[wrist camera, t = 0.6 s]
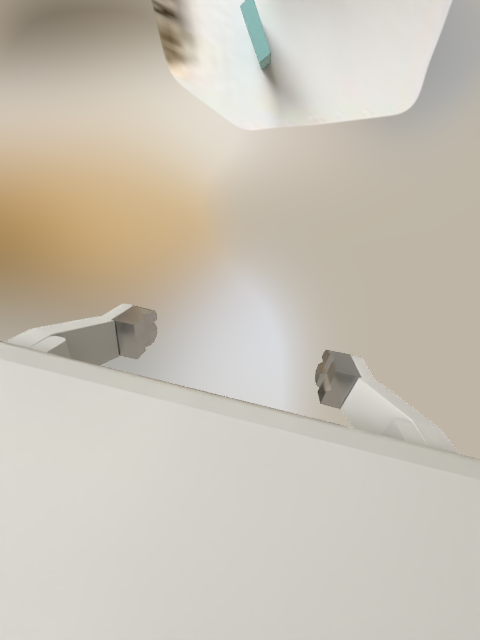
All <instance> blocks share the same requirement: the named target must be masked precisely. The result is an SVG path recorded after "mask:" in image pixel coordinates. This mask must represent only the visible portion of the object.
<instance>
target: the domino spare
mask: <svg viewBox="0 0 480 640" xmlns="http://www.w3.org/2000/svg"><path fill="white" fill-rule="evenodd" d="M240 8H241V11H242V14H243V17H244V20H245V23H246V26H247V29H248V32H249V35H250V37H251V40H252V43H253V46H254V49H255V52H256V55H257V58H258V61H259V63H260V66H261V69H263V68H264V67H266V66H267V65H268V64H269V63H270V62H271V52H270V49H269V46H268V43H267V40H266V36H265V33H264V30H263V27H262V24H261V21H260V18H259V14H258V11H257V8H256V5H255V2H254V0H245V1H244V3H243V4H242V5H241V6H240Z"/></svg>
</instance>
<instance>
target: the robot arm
mask: <svg viewBox="0 0 480 640" xmlns="http://www.w3.org/2000/svg"><path fill="white" fill-rule="evenodd" d="M156 319H157V314H156V312H155V311H154V310H149V309H146V308H142V307H138V306H134V305H129V304H121V305H120V306H118V307H116V308H115V309H113V310H111V311H110V312H108V313H106V314H105V315H103V316H102V317H92V318H87V319H81V320H76V321H71V322H65V323H60V324H55V325H49V326H44V327H39V328H33V329H30V330H28V331H26V332H24V333H22V334H19V335H17V336H15V337H13V338H11V339H9V340H7V341H5V342H2V341H0V640H480V459H477V458H473V457H469V456H465V455H460V454H459V453H458V452H457V451H456V449H455V448H454V446H453V445H452V444H451V442H450V441H449V440H448V438H447V437H446V436H445V434H444V433H443V432H442V430H441V429H440V428H439V427H438V426H437V425H435V424H434V423H433V422H431V421H430V420H429V419H427V418H426V417H425V416H424V415H422V414H421V413H419V412H418V411H417V410H416V409H414V408H413V407H412V406H410V405H409V404H407V403H406V402H405V401H404V400H402V399H401V398H400V397H398V396H397V395H396V394H394V393H393V392H392V391H390V390H389V389H388V388H386V387H385V386H384V385H382V384H381V383H380V382H377V381H375V379H374V378H373V376H372V374H371V372H370V371H369V369H368V367H367V365H366V364H365V362H364V360H363V358H361V357H360V356H355V355H349V354H345V353H340V352H335V351H330V350H326V351H325V352H324V354H323V356H322V359H323V362H322V363H320V364H318V367H317V369H316V374H315V381H316V385H317V386H318V387H319V390H318V395H319V400H320V403H321V404H324V405H328V406H331V407H335V408H339V409H340V410H341V412H342V413H343V414H344V416H345V417H346V418H347V419H348V421H349V422H350V423H351V424H352V426H353V427H354V428H351V427H347V426H343V425H339V424H335V423H331V422H326V421H323V420H319V419H315V418H310V417H306V416H302V415H298V414H294V413H290V412H286V411H282V410H278V409H274V408H270V407H266V406H262V405H258V404H254V403H250V402H246V401H242V400H238V399H233V398H229V397H225V396H221V395H217V394H213V393H209V392H205V391H201V390H197V389H193V388H189V387H184V386H181V385H177V384H172V383H169V382H164V381H161V380H156V379H152V378H148V377H144V376H140V375H136V374H132V373H128V372H124V371H120V370H116V369H112V368H108V367H104V366H100V365H101V364H103V363H106V362H108V361H110V360H112V359H114V358H117V357H119V355H120V356H124V357H130V358H134V359H138V358H139V357H140V356H141V355H142V354H143V353H144V352H145V347H147V346H149V345H151V344H152V343H153V342H154V340H155V338H156V335H157V327H156V325H155V323H154V321H156Z"/></svg>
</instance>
